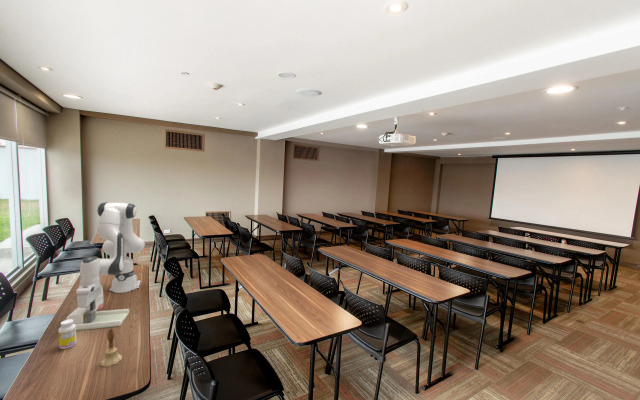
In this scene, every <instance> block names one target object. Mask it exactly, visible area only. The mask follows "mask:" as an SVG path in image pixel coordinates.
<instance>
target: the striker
mask: <svg viewBox="0 0 640 400" xmlns="http://www.w3.org/2000/svg"><path fill="white" fill-rule="evenodd" d="M90 306H91V309H90V310H89V314H88V315H87V323H91V322H92V321H93V320H94V319H95V312H96V311H93V310H94V309H95V302H91V303H90Z"/></svg>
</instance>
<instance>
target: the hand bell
mask: <svg viewBox="0 0 640 400" xmlns="http://www.w3.org/2000/svg"><path fill="white" fill-rule="evenodd" d="M106 338H107V341H108V348H107V349H106V350H105V353H104V357H103V359H102V360H101V361H100V366H101V367H105V368H106V367H112V366H115V365H116V364H118V363H120V361H122V359H123V356H122V355H121V354H120V353H119V352H118V348H117V347H114V338H115V332H114V330H113V327H109V328H108V331H107V337H106Z"/></svg>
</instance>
